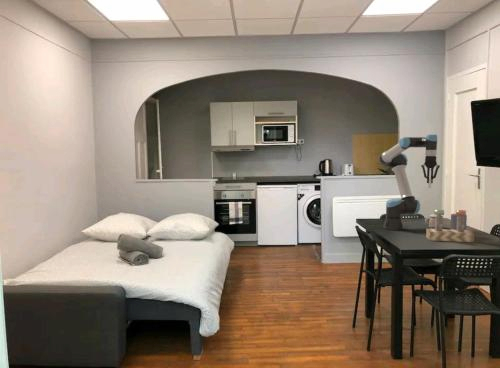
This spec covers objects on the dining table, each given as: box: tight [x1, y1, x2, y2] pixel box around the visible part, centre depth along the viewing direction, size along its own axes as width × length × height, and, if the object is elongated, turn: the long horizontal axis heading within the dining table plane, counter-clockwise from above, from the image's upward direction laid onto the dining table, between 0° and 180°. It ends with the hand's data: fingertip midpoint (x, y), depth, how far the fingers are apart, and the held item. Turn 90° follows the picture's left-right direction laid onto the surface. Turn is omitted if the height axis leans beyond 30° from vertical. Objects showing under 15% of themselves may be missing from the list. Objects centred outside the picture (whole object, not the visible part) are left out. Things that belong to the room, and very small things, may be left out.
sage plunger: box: [434, 209, 445, 217], centre depth 300 cm, size 6×6×14 cm
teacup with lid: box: [424, 212, 438, 228], centre depth 348 cm, size 12×9×12 cm
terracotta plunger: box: [455, 209, 467, 217], centre depth 297 cm, size 6×6×14 cm
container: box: [450, 213, 468, 230], centre depth 314 cm, size 10×10×15 cm
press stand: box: [425, 215, 475, 243], centre depth 299 cm, size 28×12×16 cm, turn 78°
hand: (429, 187), depth 318 cm, fingers closed
